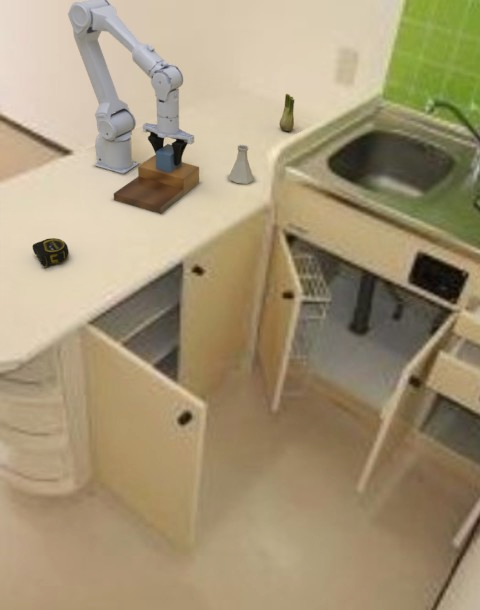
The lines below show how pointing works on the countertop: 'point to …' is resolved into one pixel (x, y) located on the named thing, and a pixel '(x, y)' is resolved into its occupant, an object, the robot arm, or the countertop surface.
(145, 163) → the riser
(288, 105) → the fennel bulb
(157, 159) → the blue box
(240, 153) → the flask
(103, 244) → the countertop surface
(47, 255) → the tape measure
